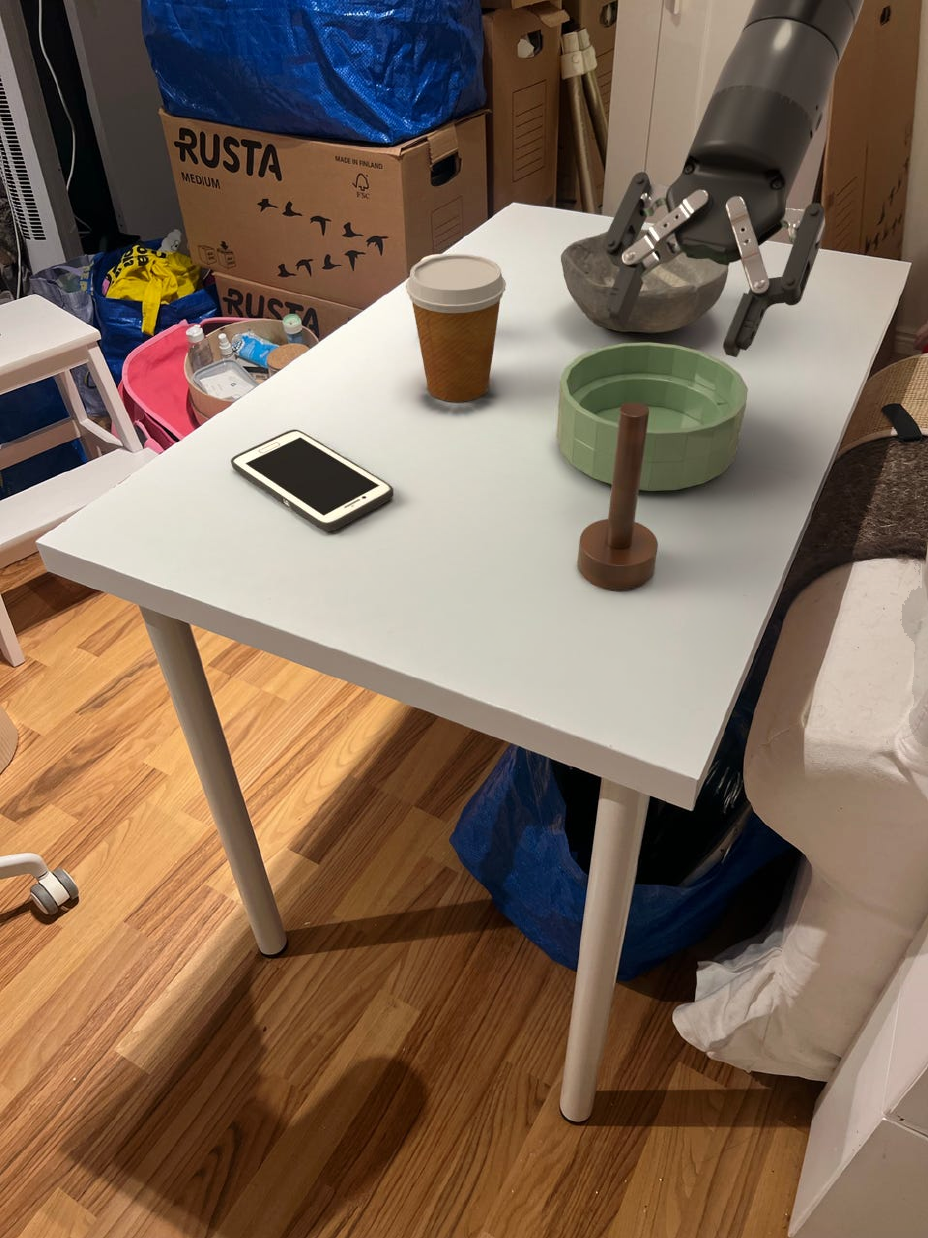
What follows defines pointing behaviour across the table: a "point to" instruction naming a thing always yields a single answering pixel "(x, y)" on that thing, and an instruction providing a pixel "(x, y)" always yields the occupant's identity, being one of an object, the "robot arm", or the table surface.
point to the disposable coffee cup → (456, 322)
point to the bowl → (643, 287)
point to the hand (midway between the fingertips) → (671, 337)
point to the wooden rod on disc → (621, 516)
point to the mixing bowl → (652, 412)
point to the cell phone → (312, 479)
